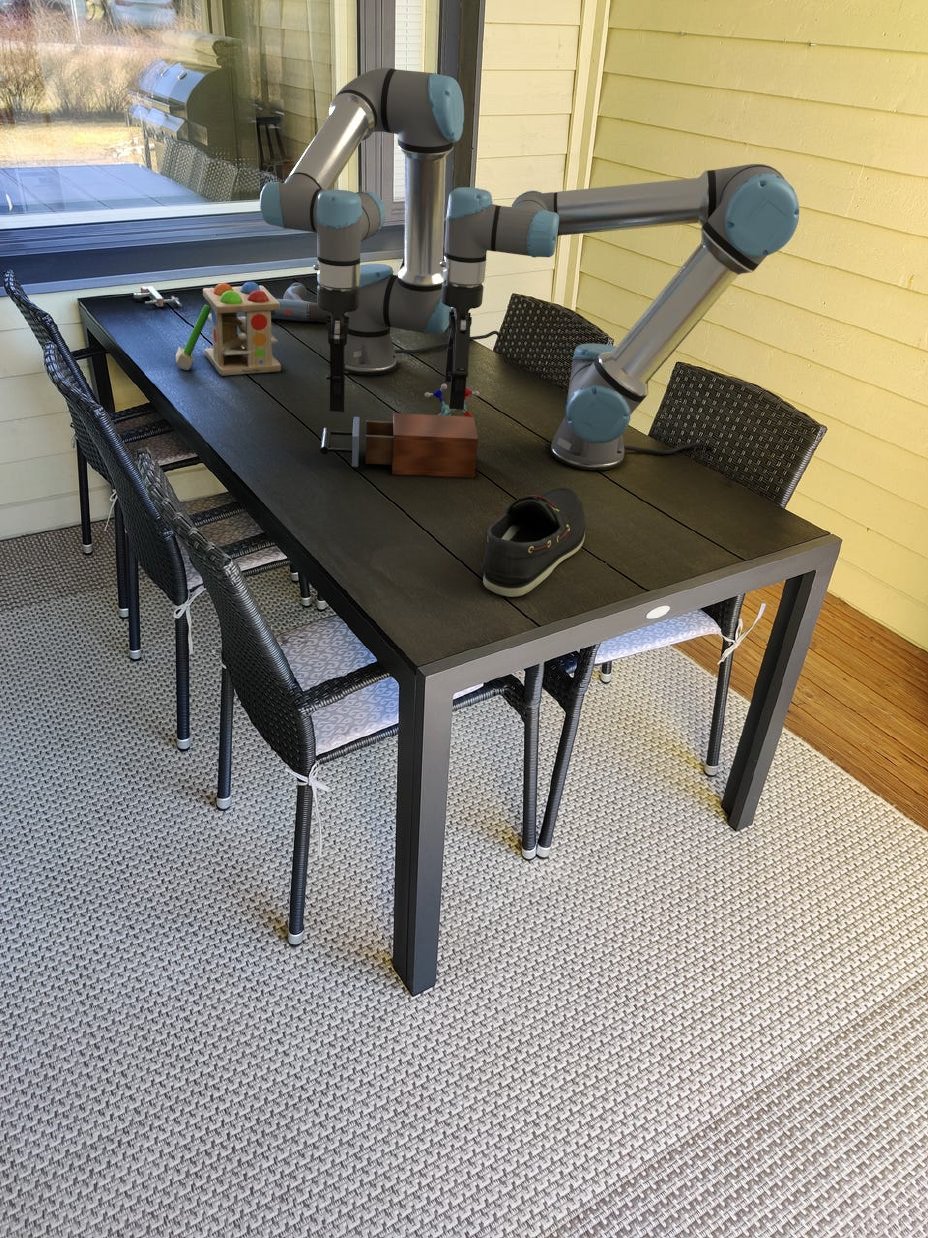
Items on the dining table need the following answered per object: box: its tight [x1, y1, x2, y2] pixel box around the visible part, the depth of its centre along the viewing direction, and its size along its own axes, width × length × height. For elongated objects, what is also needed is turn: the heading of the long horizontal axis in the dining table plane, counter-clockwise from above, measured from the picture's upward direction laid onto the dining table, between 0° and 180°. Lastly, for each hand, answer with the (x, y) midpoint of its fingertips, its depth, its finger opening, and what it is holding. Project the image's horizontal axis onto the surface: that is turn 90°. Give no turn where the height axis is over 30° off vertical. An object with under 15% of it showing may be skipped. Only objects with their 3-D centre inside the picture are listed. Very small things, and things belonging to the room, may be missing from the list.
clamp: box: [133, 285, 183, 308], centre depth 263 cm, size 15×2×10 cm
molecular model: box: [424, 383, 480, 417], centre depth 211 cm, size 12×10×10 cm
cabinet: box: [391, 412, 479, 478], centre depth 193 cm, size 16×11×8 cm, turn 94°
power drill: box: [271, 282, 331, 322], centre depth 265 cm, size 5×19×20 cm
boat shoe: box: [481, 487, 586, 598], centre depth 167 cm, size 13×33×10 cm, turn 147°
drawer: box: [319, 416, 394, 468], centre depth 192 cm, size 21×9×6 cm, turn 94°
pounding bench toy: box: [174, 281, 282, 377], centre depth 225 cm, size 23×14×18 cm, turn 116°
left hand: (337, 410), depth 188 cm, fingers closed
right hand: (453, 394), depth 188 cm, fingers open, 13 cm apart
